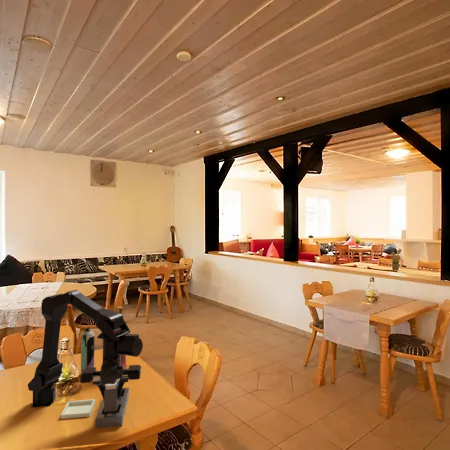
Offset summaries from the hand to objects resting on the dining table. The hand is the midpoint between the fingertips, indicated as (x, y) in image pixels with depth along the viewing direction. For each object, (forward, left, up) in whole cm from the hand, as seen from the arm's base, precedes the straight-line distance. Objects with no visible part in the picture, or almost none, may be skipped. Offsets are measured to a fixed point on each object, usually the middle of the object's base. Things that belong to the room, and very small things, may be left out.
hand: (111, 399), depth 114 cm
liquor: (-3, +41, -7) cm, 42 cm away
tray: (-12, +7, -7) cm, 15 cm away
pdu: (0, +5, -7) cm, 8 cm away
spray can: (-16, +39, -7) cm, 43 cm away
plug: (0, 0, -3) cm, 3 cm away
